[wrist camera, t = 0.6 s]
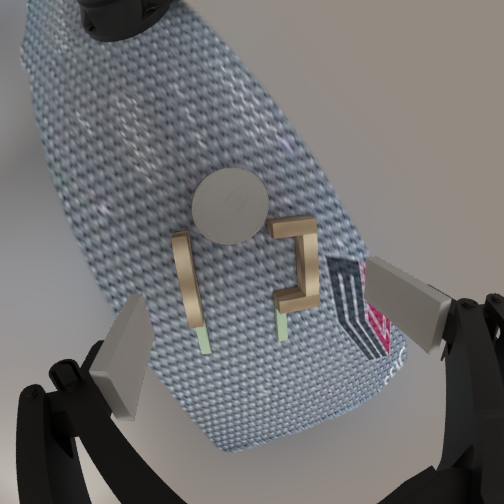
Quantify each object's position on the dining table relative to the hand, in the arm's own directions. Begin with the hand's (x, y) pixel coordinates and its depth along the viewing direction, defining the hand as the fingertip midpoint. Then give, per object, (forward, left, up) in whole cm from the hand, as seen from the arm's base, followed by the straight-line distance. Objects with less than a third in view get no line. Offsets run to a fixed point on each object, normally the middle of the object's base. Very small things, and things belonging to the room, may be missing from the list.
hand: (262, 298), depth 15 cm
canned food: (-4, 0, -24) cm, 25 cm away
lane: (+6, +2, -24) cm, 25 cm away
